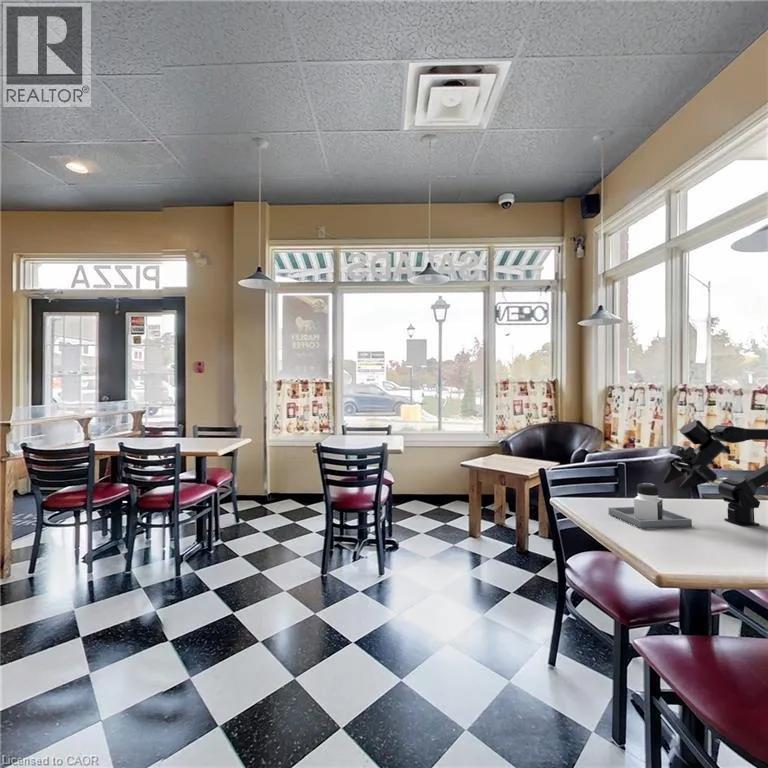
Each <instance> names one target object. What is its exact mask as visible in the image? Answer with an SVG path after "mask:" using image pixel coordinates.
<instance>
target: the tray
mask: <svg viewBox="0 0 768 768" xmlns="http://www.w3.org/2000/svg"><path fill="white" fill-rule="evenodd" d="M609 514H610V516H611V515H612V517H613V516H614V517H613V518H615V517H617V518H616V519H618V518H619V519H618V520H620V519H621V521H622V520H623V521H622V522H624V521H626V522H628V523H627V524H629V523H630V524H629V525H631V524H632V525H631V526H633V525H635V526H637V527H639V528H638V529H640V528H655V529H674V528H675V529H677V527H680V528H692V527H693V522H692V521H693V520H692V519H691V518H688V517H686V516H683V515H681V514H678V513H675V512H672V511H669V510H666V509H663V519H662V520H639V519H636V518H634V506H619V507H608V515H609ZM626 522H625V523H626ZM635 526H634V527H635ZM637 527H636V528H637Z"/></svg>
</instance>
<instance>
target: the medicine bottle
mask: <svg viewBox="0 0 768 768" xmlns="http://www.w3.org/2000/svg"><path fill="white" fill-rule="evenodd" d="M636 487H637V488H636V489H637V496H635V497H634V498H633V507H634V518H636V519H639V520H662V519H663V508H664V507H663V498H662V497H659V487H658V485H656V484H653V483H647V482H643V483H638V484H637V485H636Z"/></svg>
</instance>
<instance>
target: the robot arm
mask: <svg viewBox="0 0 768 768" xmlns="http://www.w3.org/2000/svg"><path fill="white" fill-rule="evenodd" d="M679 432H680V434H682V435H683V437H685V438H686V440H688V441H690V442H691V443H692V444H693V445H699V446H697V447H696V448H694V447H692V446H688V445H686V446H680V445H675V444H672V447H671V449H670V451H669V454H670V455H674V456H669V457H667V458H666V459H665V462H666V465H667V467H668V469H667V472H666V474H665V476H664V478H663V480H662V482H663V483H664V484H669V483H670V482H672V481H674V480H676V479H678V478H680V477H683V476H684V475H685V474H686V473H688V475H687V476H686V478H684V480H683V481H682V482H681V484H680V485H679V486H678V488H679V489H680V490H686V489H688V488H692V487H696V486H700V485H702V484H709V483H714V482H715V481H716V480H717V479H718V474H717V473H716V472H715V471H714V470H712V469H711V468H710V467H709V465H711V466H713V465H714V464H715V462H714V460H715V459H717V457H718V456H719V455H720V454H726V455H731V453H732V452H731V448H730V446H729V445H724V444H723V443H729V444H736V443H737V444H738V443H744V442H746V441H751V440H752V441H756V440H757V441H768V428H744V427H741V426H740V427H739V426H733V425H723V424H717V425H715V426H713V428H707V427H706V426H705V425H704V424H703V423H702V422H701V421H700V420H698V419H693V420H692V421H690V422H688V423H687V424H684V425H682V426H681V428H680V429H679ZM675 456H677V457H675ZM767 484H768V463H766V464H765V465H763V466H760V467H759V468H757V469H755V470H754V471H752V472H750V473H749V474H746V475H744V476H738V475H734V474H731V475H729V476H728V477H727V478H725V479H721V482H719V484H718V489H717V491H718V493H719V495H720V496H721V497H722V500H723V502H727V518H725V517H724V521H726V522H730V523H732V524H736V525H738V524H739V526H741V525H743V527H744V525H751V526H760V523H759V522H756V521H755V509H759V507H760V505H761V501H760V500H758V499H757V498H756V496H755V495H756V493H757V490H758V489H759V488H761V487H763V486H765V485H767Z"/></svg>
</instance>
